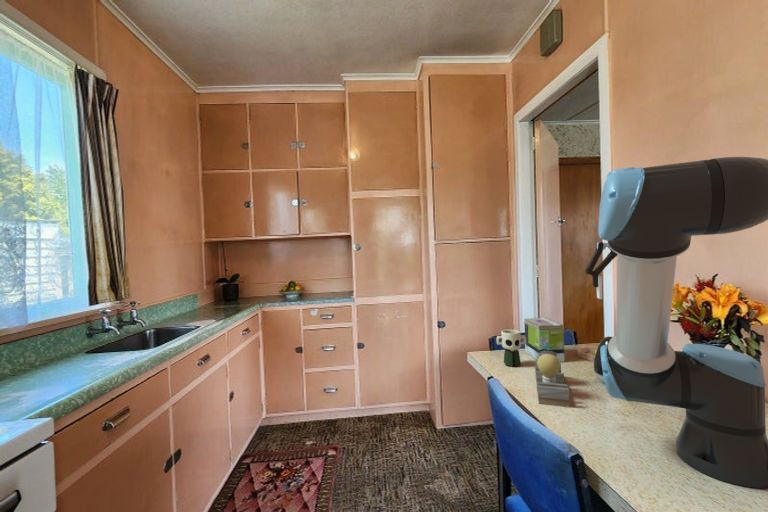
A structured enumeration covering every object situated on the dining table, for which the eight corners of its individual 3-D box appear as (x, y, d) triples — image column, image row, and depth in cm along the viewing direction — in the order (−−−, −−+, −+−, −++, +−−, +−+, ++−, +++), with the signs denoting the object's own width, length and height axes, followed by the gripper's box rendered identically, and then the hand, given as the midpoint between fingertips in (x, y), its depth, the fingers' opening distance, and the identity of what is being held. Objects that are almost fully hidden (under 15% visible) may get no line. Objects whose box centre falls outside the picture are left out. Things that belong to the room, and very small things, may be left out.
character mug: (499, 368, 132) (498, 333, 132) (495, 361, 139) (494, 329, 139) (529, 367, 131) (528, 333, 130) (524, 361, 138) (522, 329, 137)
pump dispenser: (638, 389, 107) (636, 340, 107) (601, 388, 109) (599, 340, 109) (623, 377, 117) (621, 332, 117) (589, 376, 119) (587, 332, 119)
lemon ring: (623, 363, 131) (623, 357, 130) (580, 360, 136) (580, 355, 136) (614, 352, 144) (613, 347, 144) (575, 350, 149) (575, 345, 149)
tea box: (565, 362, 135) (564, 324, 134) (539, 363, 135) (538, 325, 135) (548, 350, 150) (546, 316, 150) (524, 351, 150) (523, 317, 150)
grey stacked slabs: (569, 407, 98) (568, 372, 98) (538, 403, 101) (537, 369, 101) (560, 376, 120) (559, 348, 120) (535, 374, 123) (534, 346, 123)
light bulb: (542, 381, 112) (541, 350, 111) (564, 386, 107) (562, 353, 107) (534, 387, 107) (533, 355, 107) (556, 392, 103) (555, 359, 102)
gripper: (670, 222, 99) (673, 296, 99) (572, 227, 107) (575, 296, 107) (683, 220, 92) (686, 300, 92) (577, 226, 100) (580, 300, 100)
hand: (626, 298), depth 99 cm, fingers open, 13 cm apart
